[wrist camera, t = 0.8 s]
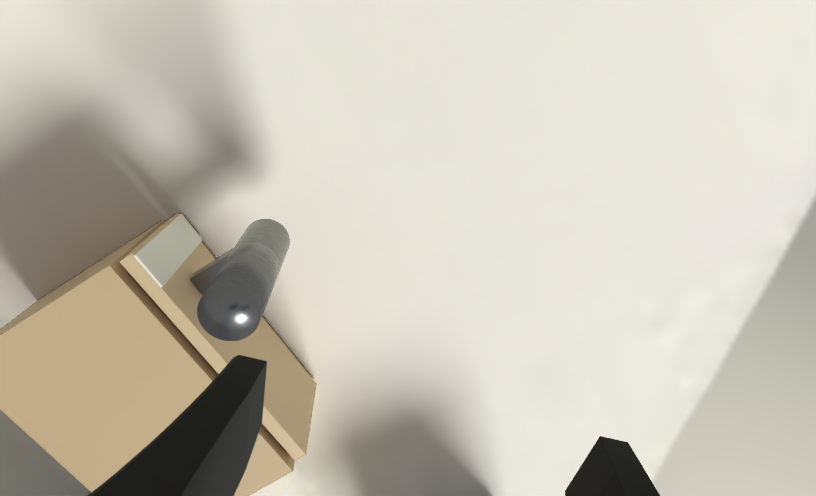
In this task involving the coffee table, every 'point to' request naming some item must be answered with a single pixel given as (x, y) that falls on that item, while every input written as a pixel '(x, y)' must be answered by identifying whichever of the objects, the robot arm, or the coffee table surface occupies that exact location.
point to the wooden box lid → (230, 311)
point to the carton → (108, 376)
